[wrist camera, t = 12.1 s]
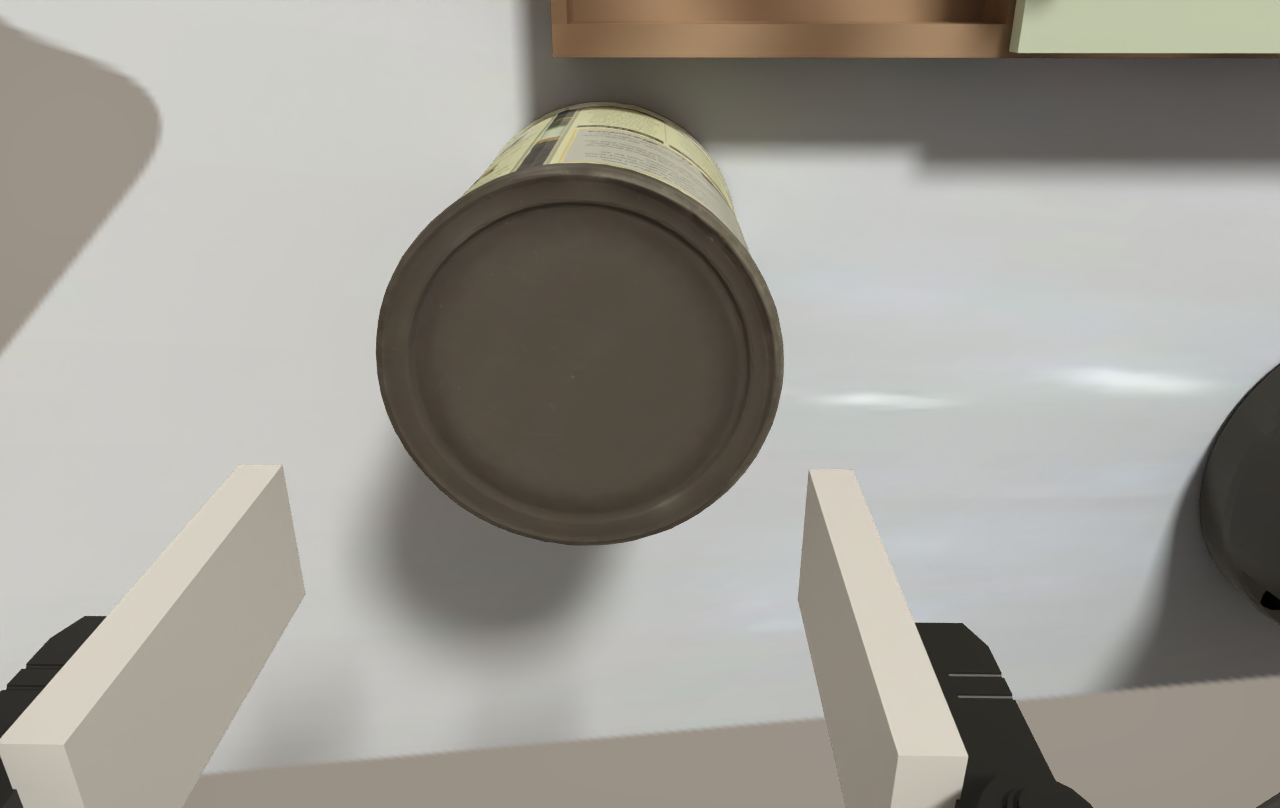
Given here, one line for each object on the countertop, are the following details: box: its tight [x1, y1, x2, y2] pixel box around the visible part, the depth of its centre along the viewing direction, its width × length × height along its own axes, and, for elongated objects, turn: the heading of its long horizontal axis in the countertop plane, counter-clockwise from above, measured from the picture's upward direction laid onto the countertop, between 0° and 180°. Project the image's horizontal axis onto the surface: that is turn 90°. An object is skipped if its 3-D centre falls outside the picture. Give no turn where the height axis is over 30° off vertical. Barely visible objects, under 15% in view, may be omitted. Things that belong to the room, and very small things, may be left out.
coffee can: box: [376, 102, 784, 545], centre depth 30 cm, size 10×10×14 cm
